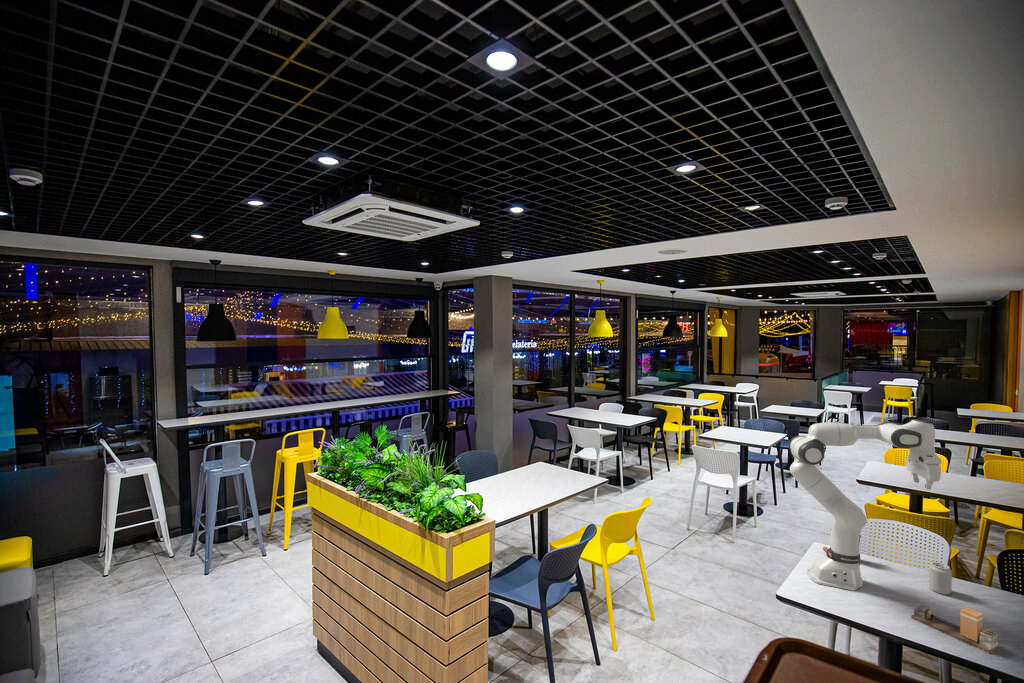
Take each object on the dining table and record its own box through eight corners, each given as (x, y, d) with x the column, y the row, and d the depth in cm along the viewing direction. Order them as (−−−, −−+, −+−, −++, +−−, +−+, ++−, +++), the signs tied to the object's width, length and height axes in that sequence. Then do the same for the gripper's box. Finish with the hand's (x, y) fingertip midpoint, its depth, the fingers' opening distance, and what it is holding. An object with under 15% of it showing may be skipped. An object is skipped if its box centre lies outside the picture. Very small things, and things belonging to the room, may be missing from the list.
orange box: (960, 634, 182) (960, 609, 182) (965, 631, 184) (966, 606, 184) (977, 642, 177) (977, 616, 177) (982, 638, 179) (983, 613, 179)
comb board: (911, 617, 195) (911, 604, 195) (921, 612, 198) (921, 599, 198) (988, 653, 173) (989, 638, 173) (999, 647, 176) (999, 632, 176)
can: (942, 587, 218) (942, 561, 218) (956, 596, 211) (956, 569, 210) (925, 586, 219) (925, 560, 218) (938, 595, 211) (938, 568, 211)
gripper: (901, 449, 226) (901, 478, 226) (926, 460, 206) (926, 492, 207) (917, 450, 225) (917, 479, 225) (944, 461, 205) (944, 493, 205)
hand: (922, 485), depth 216 cm, fingers open, 8 cm apart
